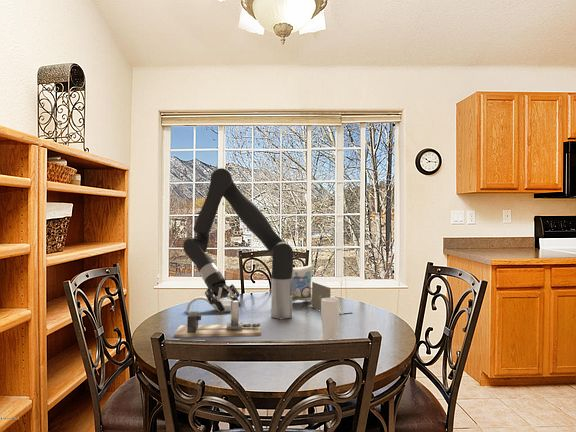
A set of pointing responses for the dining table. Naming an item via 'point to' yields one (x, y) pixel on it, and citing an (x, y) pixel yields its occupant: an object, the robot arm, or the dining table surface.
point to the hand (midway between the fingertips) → (231, 309)
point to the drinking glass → (330, 317)
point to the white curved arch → (225, 303)
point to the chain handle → (237, 318)
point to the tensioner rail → (211, 329)
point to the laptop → (319, 295)
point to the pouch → (302, 283)
